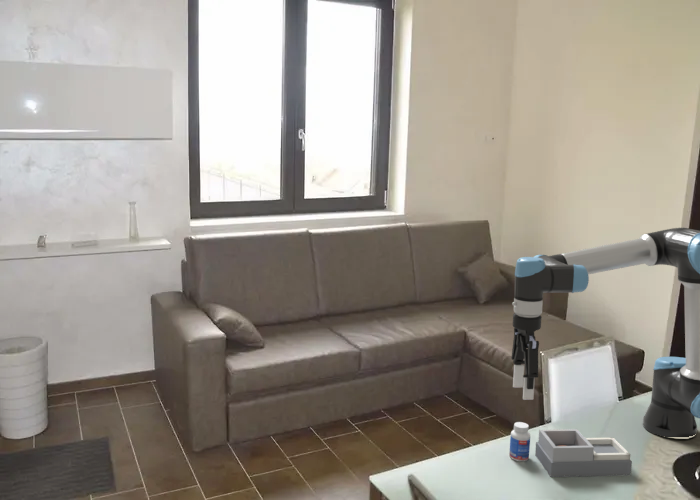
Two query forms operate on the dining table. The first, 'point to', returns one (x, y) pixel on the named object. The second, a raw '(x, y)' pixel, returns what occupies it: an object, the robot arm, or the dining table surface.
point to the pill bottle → (520, 442)
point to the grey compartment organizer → (581, 454)
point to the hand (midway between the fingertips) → (522, 392)
